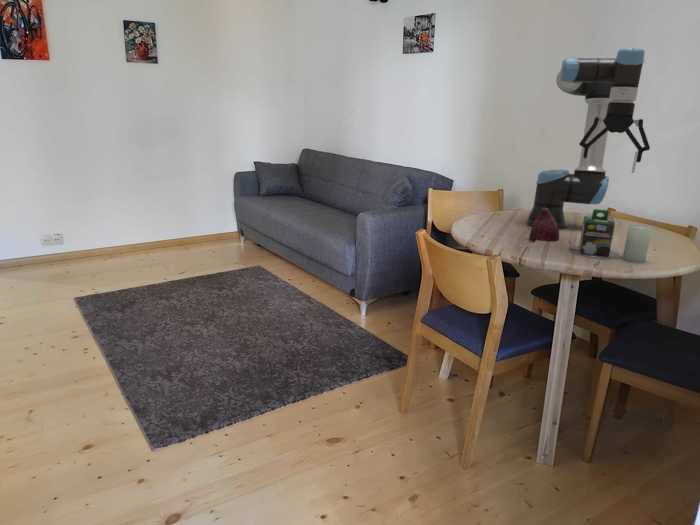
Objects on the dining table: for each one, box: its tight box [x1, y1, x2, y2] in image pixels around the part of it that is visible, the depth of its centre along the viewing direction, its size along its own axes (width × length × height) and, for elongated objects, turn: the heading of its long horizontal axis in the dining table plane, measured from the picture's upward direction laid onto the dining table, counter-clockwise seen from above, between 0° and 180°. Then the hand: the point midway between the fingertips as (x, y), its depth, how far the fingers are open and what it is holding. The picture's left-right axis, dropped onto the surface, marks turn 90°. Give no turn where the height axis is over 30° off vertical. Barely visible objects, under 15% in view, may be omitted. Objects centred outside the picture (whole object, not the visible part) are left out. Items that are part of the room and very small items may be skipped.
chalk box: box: [578, 208, 616, 257], centre depth 173 cm, size 9×9×15 cm
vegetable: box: [528, 206, 560, 243], centre depth 190 cm, size 10×10×15 cm
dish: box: [568, 245, 621, 260], centre depth 176 cm, size 16×16×1 cm
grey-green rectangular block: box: [622, 224, 653, 263], centre depth 168 cm, size 7×7×12 cm
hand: (609, 170), depth 167 cm, fingers open, 13 cm apart
